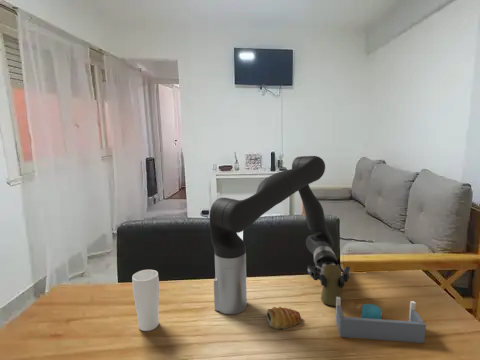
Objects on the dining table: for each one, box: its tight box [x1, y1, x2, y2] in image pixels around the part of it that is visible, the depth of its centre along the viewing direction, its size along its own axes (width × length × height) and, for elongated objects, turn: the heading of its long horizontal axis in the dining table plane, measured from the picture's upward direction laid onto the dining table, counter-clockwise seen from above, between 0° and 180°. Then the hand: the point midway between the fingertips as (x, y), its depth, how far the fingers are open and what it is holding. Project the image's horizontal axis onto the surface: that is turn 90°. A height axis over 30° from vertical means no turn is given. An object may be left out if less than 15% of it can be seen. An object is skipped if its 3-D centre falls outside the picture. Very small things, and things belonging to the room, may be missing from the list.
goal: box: [335, 297, 427, 344], centre depth 78 cm, size 20×7×7 cm, turn 82°
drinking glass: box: [131, 269, 160, 332], centre depth 81 cm, size 7×7×15 cm
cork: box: [320, 264, 342, 306], centre depth 92 cm, size 6×6×11 cm
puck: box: [361, 303, 383, 319], centre depth 84 cm, size 5×5×3 cm
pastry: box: [265, 306, 302, 330], centre depth 83 cm, size 9×7×4 cm
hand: (333, 284), depth 89 cm, fingers closed on cork, 4 cm apart
